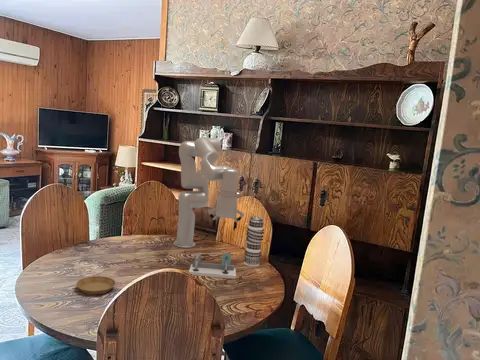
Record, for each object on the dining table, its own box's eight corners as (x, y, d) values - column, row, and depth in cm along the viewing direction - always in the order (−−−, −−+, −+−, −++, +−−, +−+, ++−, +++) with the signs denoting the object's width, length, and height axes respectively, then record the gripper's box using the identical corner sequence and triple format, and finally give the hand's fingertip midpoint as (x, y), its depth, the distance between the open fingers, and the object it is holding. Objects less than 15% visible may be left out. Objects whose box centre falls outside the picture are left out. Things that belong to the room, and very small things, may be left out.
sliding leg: (221, 266, 189) (222, 253, 189) (229, 267, 190) (231, 253, 189) (221, 271, 182) (222, 258, 181) (229, 272, 182) (231, 258, 181)
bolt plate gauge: (190, 267, 189) (192, 252, 189) (235, 271, 190) (236, 256, 189) (188, 274, 180) (190, 259, 179) (235, 278, 181) (237, 263, 180)
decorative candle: (259, 267, 198) (264, 220, 195) (241, 264, 200) (246, 218, 197) (261, 262, 207) (266, 217, 204) (244, 259, 209) (249, 214, 206)
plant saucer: (102, 279, 166) (102, 273, 165) (122, 290, 156) (122, 284, 156) (69, 287, 154) (69, 281, 154) (88, 300, 145) (88, 294, 145)
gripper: (245, 194, 189) (241, 228, 191) (210, 190, 188) (206, 224, 191) (246, 197, 182) (242, 232, 184) (209, 193, 181) (206, 229, 183)
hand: (224, 228), depth 187 cm, fingers open, 9 cm apart
